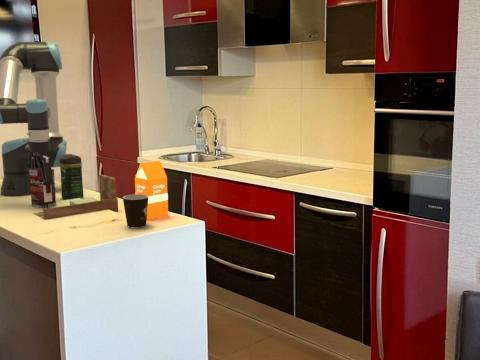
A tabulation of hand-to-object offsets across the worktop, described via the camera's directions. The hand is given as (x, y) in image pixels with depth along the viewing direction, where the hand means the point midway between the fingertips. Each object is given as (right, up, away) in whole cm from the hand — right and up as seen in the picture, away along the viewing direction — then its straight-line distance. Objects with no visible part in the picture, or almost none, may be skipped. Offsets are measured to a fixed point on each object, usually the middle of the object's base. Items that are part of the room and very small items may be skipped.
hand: (43, 199), depth 227 cm
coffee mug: (+39, -9, -24) cm, 47 cm away
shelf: (+14, -5, -7) cm, 17 cm away
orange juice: (+43, -6, -11) cm, 45 cm away
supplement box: (0, -4, +1) cm, 4 cm away
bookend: (+14, -2, -8) cm, 16 cm away
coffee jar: (+6, -1, +20) cm, 21 cm away
